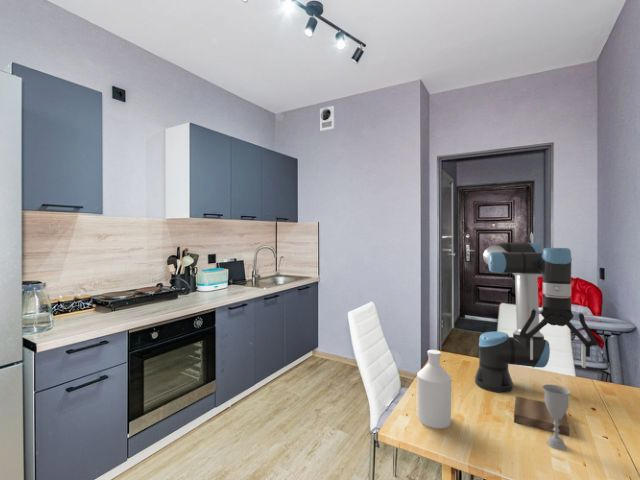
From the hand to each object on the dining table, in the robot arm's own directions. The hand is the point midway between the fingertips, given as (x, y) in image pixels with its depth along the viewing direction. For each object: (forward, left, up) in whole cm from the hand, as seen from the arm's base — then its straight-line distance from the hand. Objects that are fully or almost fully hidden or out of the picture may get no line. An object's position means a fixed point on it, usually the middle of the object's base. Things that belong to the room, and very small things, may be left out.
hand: (556, 362), depth 108 cm
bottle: (-37, -5, -27) cm, 46 cm away
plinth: (-4, +16, -27) cm, 32 cm away
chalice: (0, 0, -27) cm, 27 cm away
